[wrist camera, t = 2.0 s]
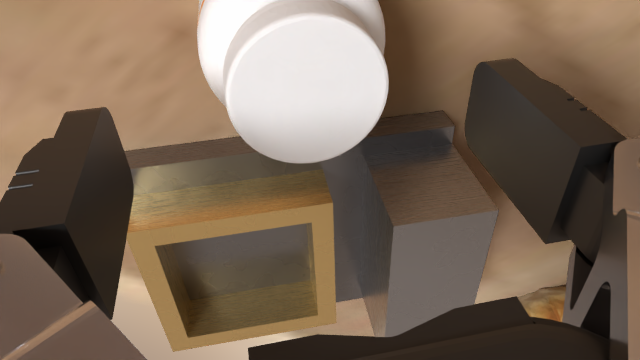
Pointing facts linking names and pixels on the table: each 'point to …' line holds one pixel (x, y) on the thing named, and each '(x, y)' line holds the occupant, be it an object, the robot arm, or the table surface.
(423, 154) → the grey and tan tray
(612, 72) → the table surface
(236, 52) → the supplement bottle
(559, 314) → the pastry
